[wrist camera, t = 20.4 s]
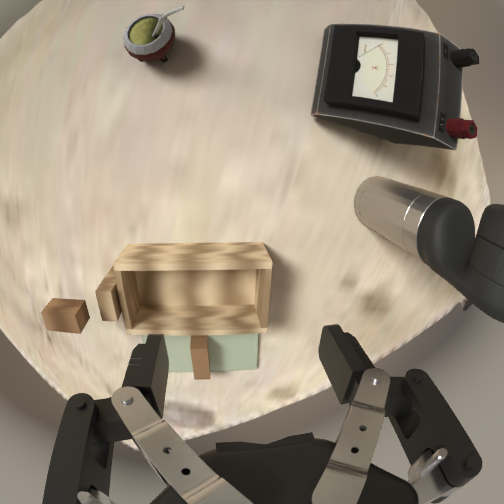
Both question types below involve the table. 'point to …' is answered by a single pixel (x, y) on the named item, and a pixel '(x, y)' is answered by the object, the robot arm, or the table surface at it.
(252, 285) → the toolbox
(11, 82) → the table surface
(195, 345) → the lid
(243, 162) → the table surface
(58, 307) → the wooden block
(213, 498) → the robot arm
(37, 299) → the table surface
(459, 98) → the voltmeter
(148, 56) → the mate gourd
